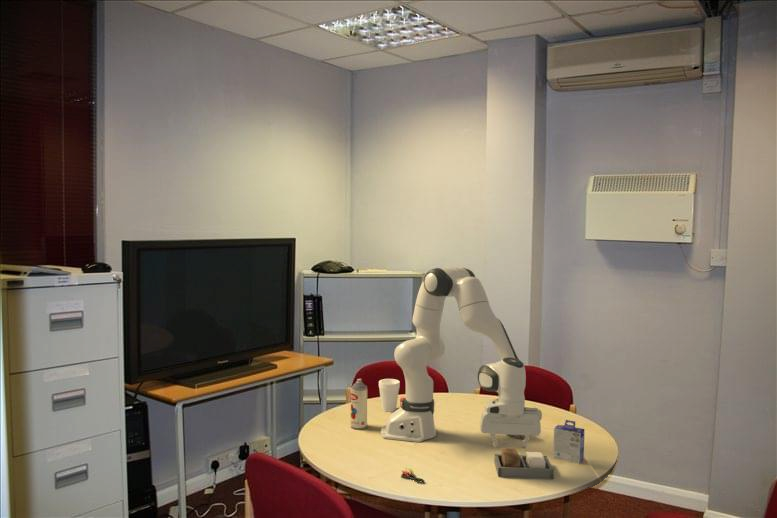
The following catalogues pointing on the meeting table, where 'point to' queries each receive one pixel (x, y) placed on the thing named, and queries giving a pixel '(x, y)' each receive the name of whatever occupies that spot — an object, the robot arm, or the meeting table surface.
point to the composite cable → (410, 476)
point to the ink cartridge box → (568, 443)
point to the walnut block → (510, 458)
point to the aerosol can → (359, 405)
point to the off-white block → (535, 460)
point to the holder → (523, 469)
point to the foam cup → (389, 394)
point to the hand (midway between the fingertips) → (509, 446)
